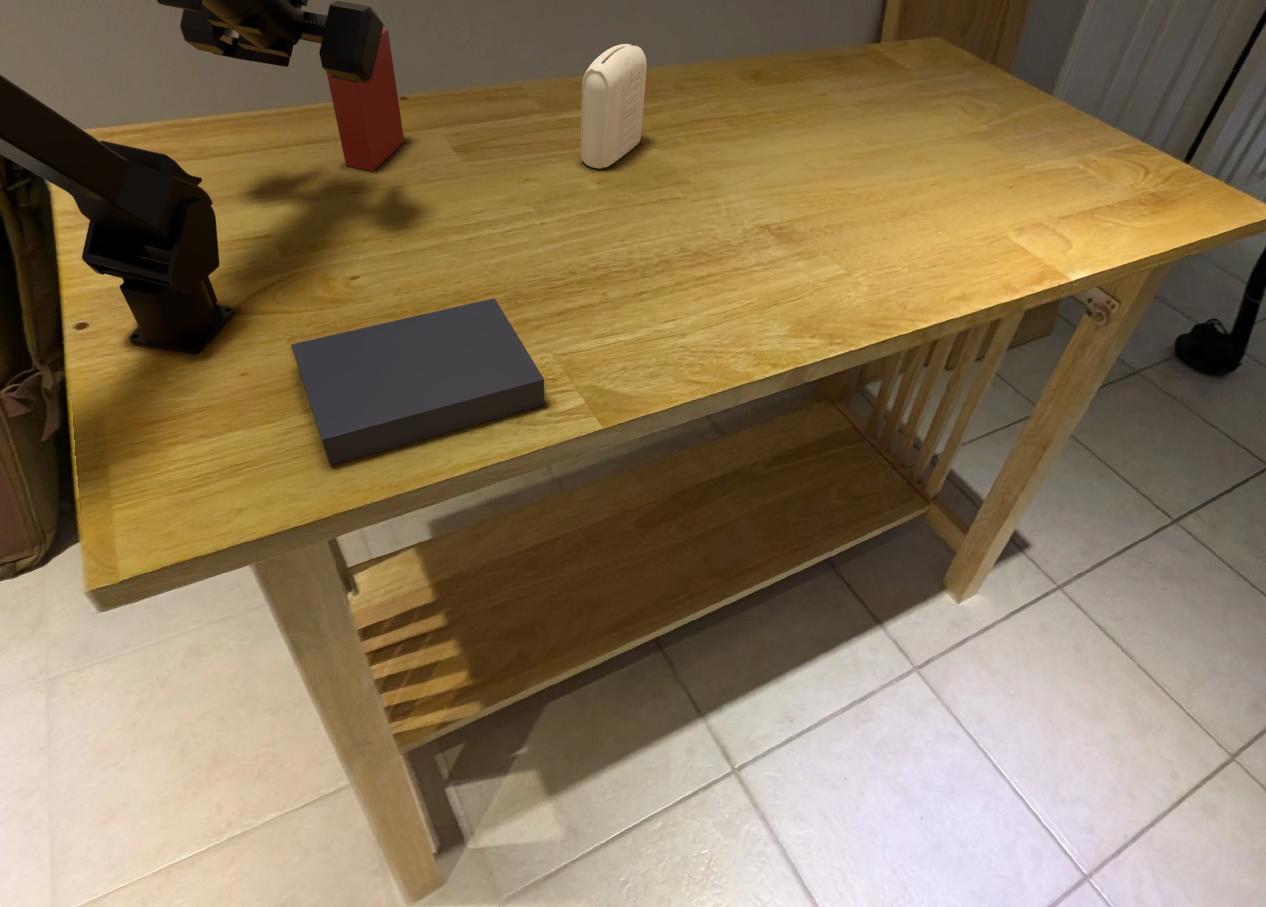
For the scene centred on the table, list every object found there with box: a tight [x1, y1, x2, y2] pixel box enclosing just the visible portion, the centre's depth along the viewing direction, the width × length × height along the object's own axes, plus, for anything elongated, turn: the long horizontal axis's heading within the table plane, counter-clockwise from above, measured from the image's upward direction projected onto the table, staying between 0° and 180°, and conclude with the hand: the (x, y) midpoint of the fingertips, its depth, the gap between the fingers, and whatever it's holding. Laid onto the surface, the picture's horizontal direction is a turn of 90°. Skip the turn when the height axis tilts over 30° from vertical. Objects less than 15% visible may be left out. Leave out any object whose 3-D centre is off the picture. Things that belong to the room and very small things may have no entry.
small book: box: [325, 28, 405, 172], centre depth 90 cm, size 8×4×13 cm, turn 165°
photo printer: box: [580, 43, 648, 169], centre depth 95 cm, size 10×4×12 cm, turn 151°
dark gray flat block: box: [290, 297, 546, 467], centre depth 67 cm, size 18×12×3 cm, turn 117°
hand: (327, 69), depth 82 cm, fingers open, 9 cm apart
